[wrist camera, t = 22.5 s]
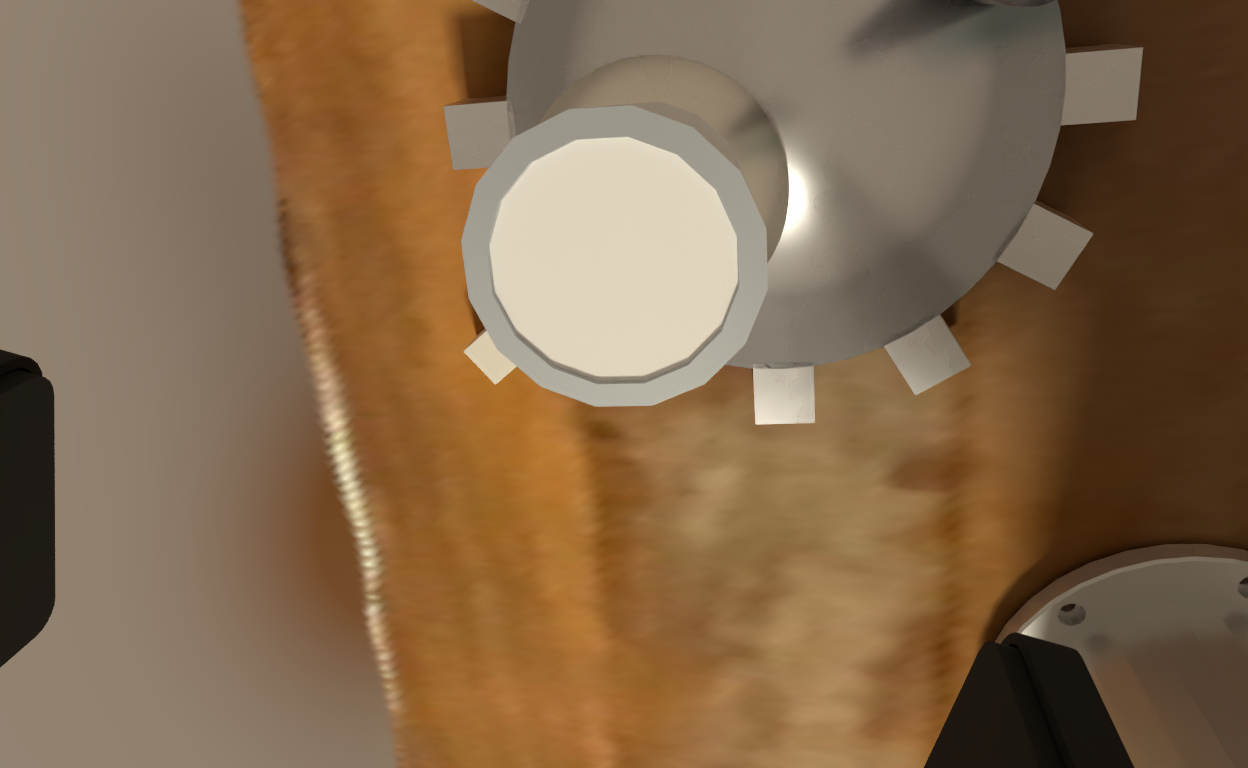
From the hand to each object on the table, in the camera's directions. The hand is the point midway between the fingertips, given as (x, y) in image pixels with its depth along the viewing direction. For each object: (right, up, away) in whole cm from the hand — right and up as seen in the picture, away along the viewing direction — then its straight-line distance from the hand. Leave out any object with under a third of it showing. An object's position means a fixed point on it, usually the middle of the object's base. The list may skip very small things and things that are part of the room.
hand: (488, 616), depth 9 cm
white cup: (+2, +8, +18) cm, 20 cm away
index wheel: (+6, +11, +19) cm, 23 cm away
